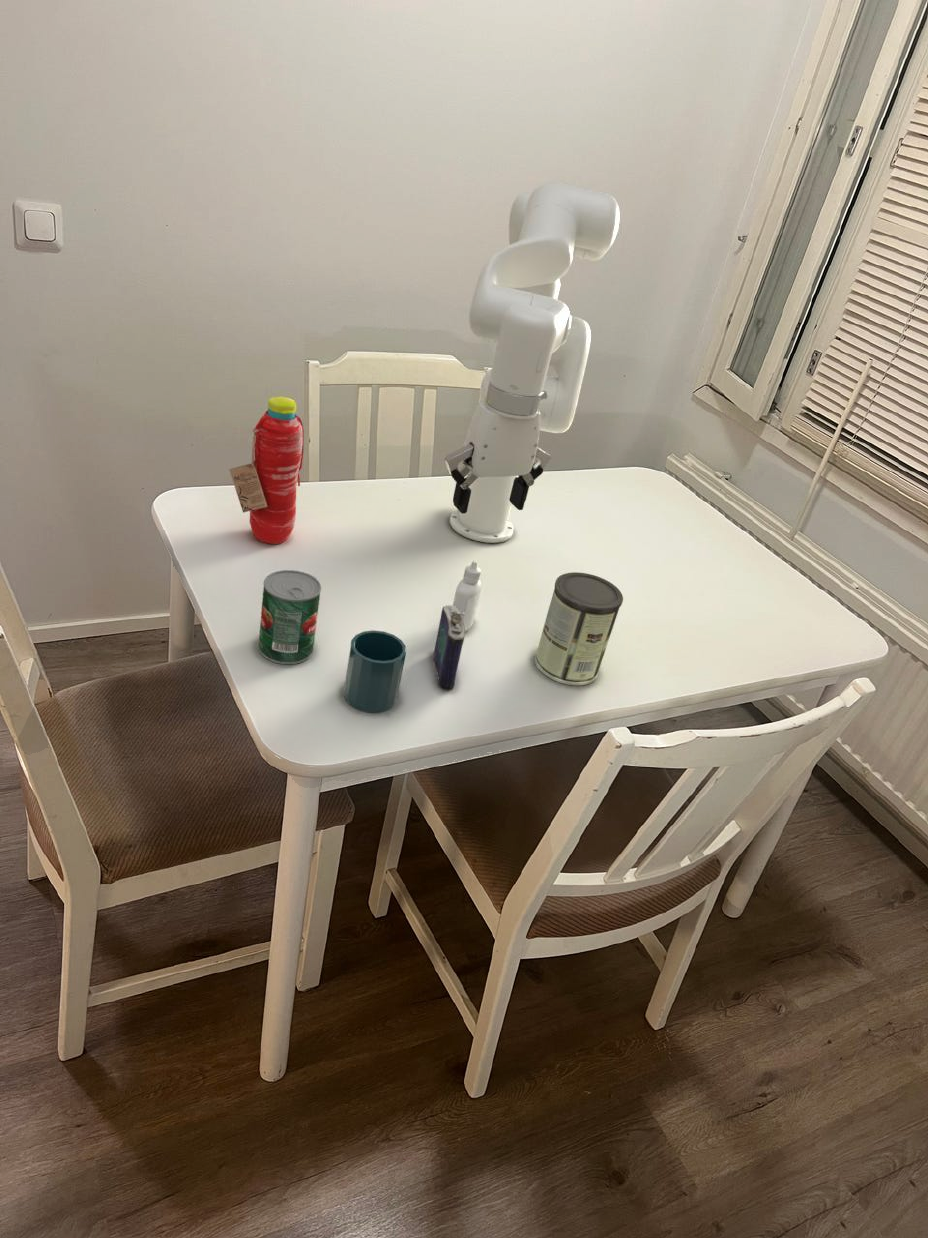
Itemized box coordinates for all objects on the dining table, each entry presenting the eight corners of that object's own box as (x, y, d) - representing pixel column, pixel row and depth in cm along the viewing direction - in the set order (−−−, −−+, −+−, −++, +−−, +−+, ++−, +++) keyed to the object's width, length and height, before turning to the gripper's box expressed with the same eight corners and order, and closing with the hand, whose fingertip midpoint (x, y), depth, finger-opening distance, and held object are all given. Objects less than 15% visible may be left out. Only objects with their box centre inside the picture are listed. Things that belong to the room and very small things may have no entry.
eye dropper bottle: (482, 629, 144) (497, 565, 137) (454, 636, 140) (468, 571, 134) (466, 615, 146) (480, 551, 140) (438, 621, 143) (452, 557, 137)
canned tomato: (250, 637, 130) (255, 572, 124) (301, 629, 134) (309, 566, 128) (268, 668, 125) (274, 603, 119) (321, 660, 129) (329, 596, 123)
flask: (431, 652, 136) (443, 593, 130) (449, 654, 136) (463, 594, 130) (437, 690, 128) (451, 629, 122) (457, 691, 129) (472, 630, 123)
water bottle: (241, 554, 149) (250, 411, 136) (220, 532, 154) (228, 392, 140) (305, 544, 156) (320, 407, 143) (284, 523, 161) (296, 389, 147)
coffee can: (561, 639, 146) (583, 565, 138) (610, 672, 140) (636, 597, 133) (520, 658, 139) (541, 581, 131) (570, 694, 133) (595, 616, 126)
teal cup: (336, 683, 125) (343, 633, 120) (384, 676, 128) (393, 627, 124) (354, 716, 120) (363, 666, 115) (404, 708, 123) (414, 659, 119)
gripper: (551, 388, 131) (524, 493, 140) (446, 387, 123) (426, 498, 132) (578, 409, 126) (548, 516, 135) (470, 409, 118) (447, 523, 127)
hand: (488, 507), depth 134 cm, fingers open, 9 cm apart
